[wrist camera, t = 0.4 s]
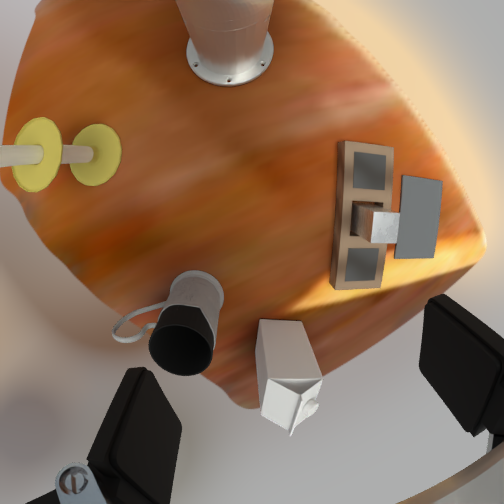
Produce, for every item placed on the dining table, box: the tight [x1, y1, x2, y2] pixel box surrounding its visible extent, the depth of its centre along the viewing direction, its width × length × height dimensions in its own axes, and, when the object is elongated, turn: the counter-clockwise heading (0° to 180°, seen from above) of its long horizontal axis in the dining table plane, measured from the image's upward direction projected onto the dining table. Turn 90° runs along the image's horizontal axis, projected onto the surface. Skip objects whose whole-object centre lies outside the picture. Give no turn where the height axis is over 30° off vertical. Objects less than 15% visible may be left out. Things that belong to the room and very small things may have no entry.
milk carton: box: [255, 319, 323, 436], centre depth 39 cm, size 7×7×19 cm
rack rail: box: [329, 141, 394, 290], centre depth 41 cm, size 22×8×3 cm, turn 0°
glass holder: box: [112, 270, 224, 376], centre depth 37 cm, size 9×14×15 cm, turn 88°
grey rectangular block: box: [350, 202, 400, 243], centre depth 38 cm, size 4×4×9 cm
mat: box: [394, 175, 443, 259], centre depth 42 cm, size 14×9×1 cm, turn 0°
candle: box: [0, 117, 122, 192], centre depth 22 cm, size 10×10×32 cm
